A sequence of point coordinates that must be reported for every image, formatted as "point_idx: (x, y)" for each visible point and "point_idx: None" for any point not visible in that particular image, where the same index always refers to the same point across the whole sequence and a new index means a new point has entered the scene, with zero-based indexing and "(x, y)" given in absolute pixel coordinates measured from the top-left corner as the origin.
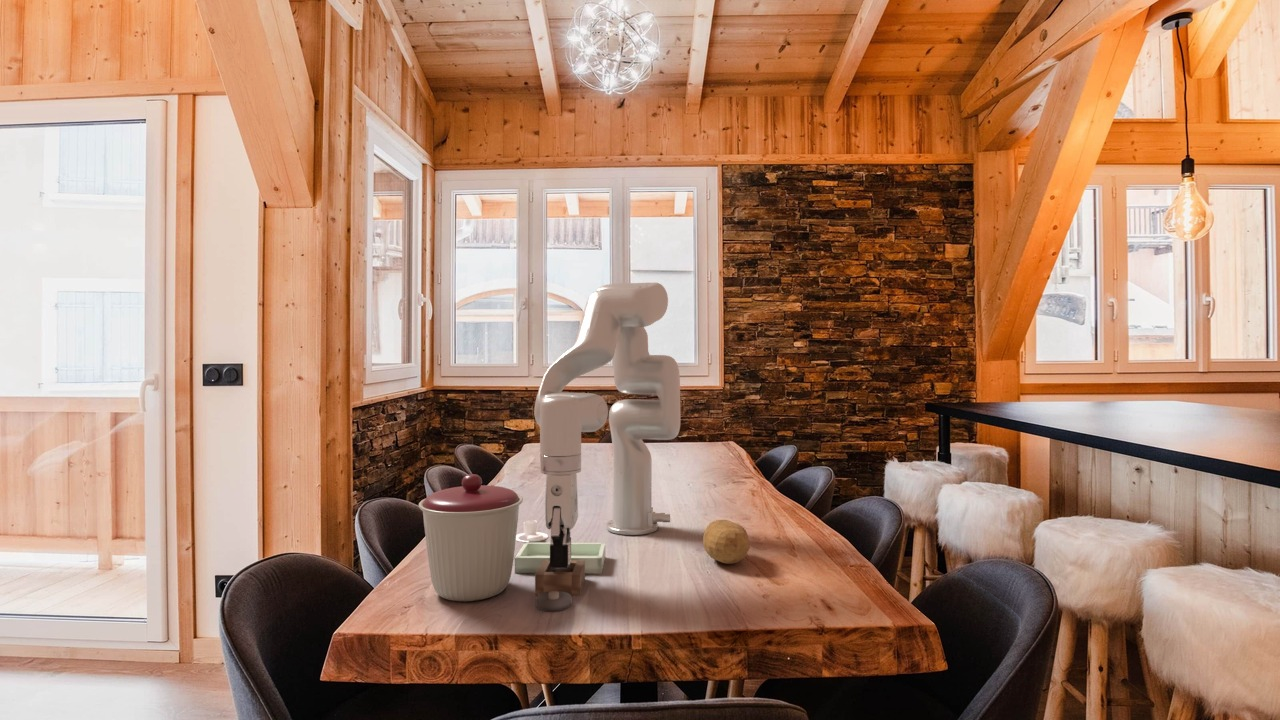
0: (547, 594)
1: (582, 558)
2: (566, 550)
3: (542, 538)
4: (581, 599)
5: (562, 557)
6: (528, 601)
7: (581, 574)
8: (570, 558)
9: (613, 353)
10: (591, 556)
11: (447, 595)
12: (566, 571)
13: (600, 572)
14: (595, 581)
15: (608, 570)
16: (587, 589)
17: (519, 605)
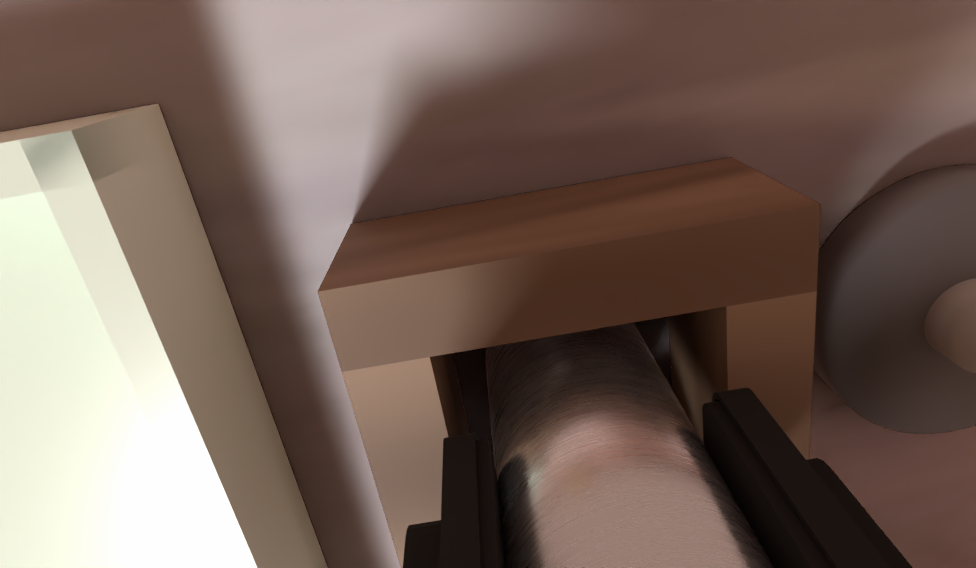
0: (898, 378)
1: (165, 346)
2: (856, 534)
3: None
4: (830, 115)
5: (853, 502)
6: (854, 460)
7: (659, 216)
8: (601, 425)
9: None
10: None
11: None
12: (654, 373)
13: (160, 116)
14: (386, 108)
15: (36, 55)
16: (598, 128)
17: (918, 485)
